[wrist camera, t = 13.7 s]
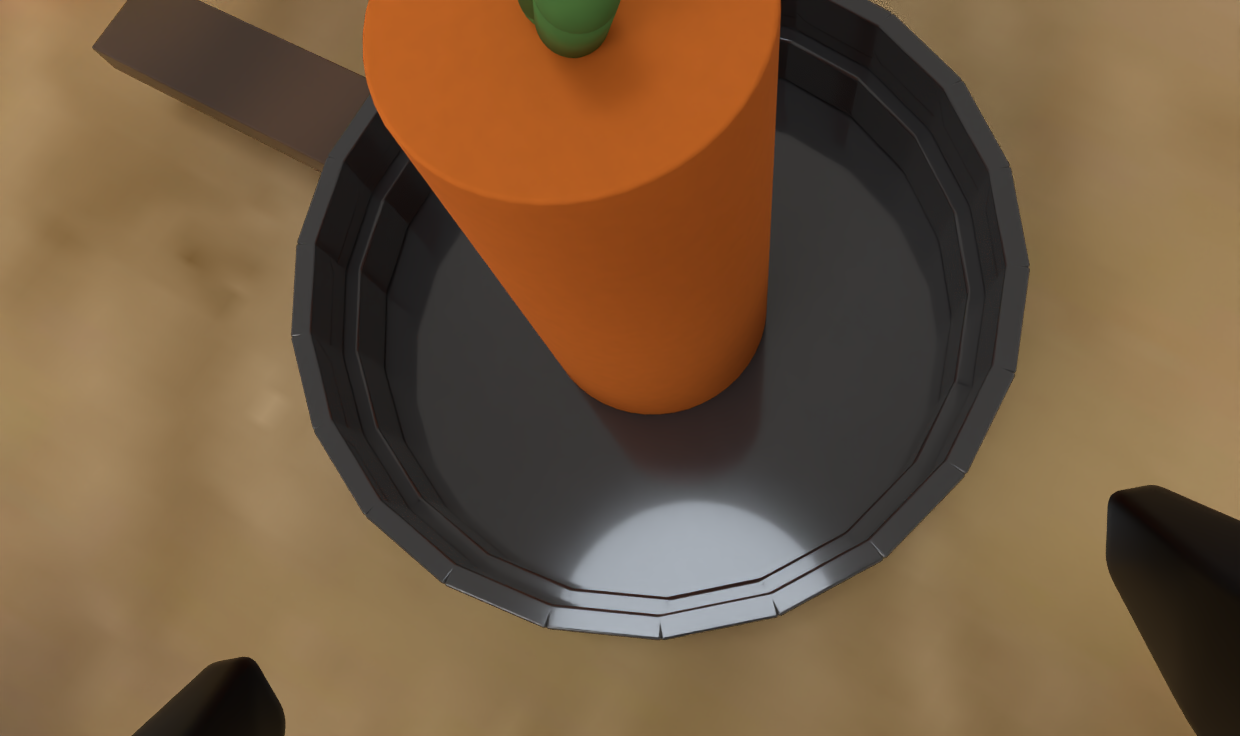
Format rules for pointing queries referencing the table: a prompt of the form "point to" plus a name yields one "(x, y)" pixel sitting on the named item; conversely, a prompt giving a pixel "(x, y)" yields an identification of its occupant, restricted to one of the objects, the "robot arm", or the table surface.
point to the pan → (710, 432)
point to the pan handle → (236, 74)
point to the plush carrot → (600, 171)
